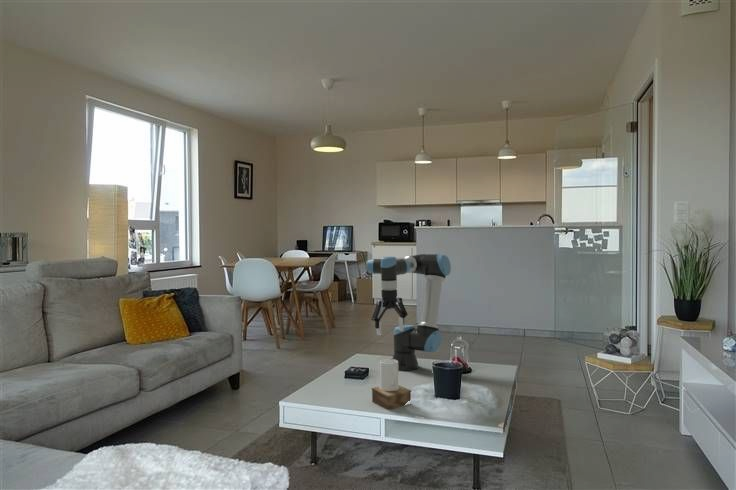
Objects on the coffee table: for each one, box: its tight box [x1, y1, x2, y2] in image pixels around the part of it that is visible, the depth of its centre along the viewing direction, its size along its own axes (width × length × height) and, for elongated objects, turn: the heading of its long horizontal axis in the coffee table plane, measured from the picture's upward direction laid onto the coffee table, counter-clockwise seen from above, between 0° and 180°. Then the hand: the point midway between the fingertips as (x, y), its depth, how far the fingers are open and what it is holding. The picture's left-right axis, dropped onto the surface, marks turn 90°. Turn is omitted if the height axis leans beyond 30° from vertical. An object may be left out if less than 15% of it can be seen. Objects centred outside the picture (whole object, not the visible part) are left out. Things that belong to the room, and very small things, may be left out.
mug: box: [379, 358, 400, 391], centre depth 210 cm, size 12×8×12 cm
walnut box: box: [371, 384, 412, 411], centre depth 210 cm, size 12×12×6 cm
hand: (390, 333), depth 232 cm, fingers open, 13 cm apart
